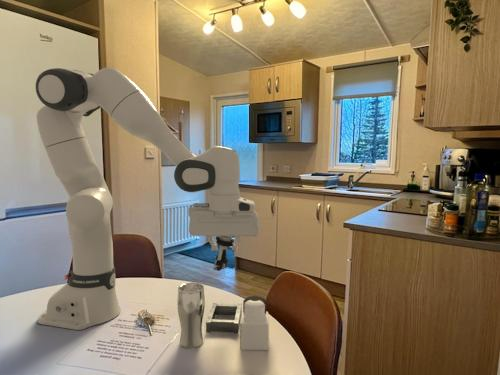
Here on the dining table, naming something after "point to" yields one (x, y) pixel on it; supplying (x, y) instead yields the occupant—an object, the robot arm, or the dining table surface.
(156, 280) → the dining table surface
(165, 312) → the dining table surface
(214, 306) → the frame
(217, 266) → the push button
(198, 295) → the beer glass
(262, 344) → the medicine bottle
